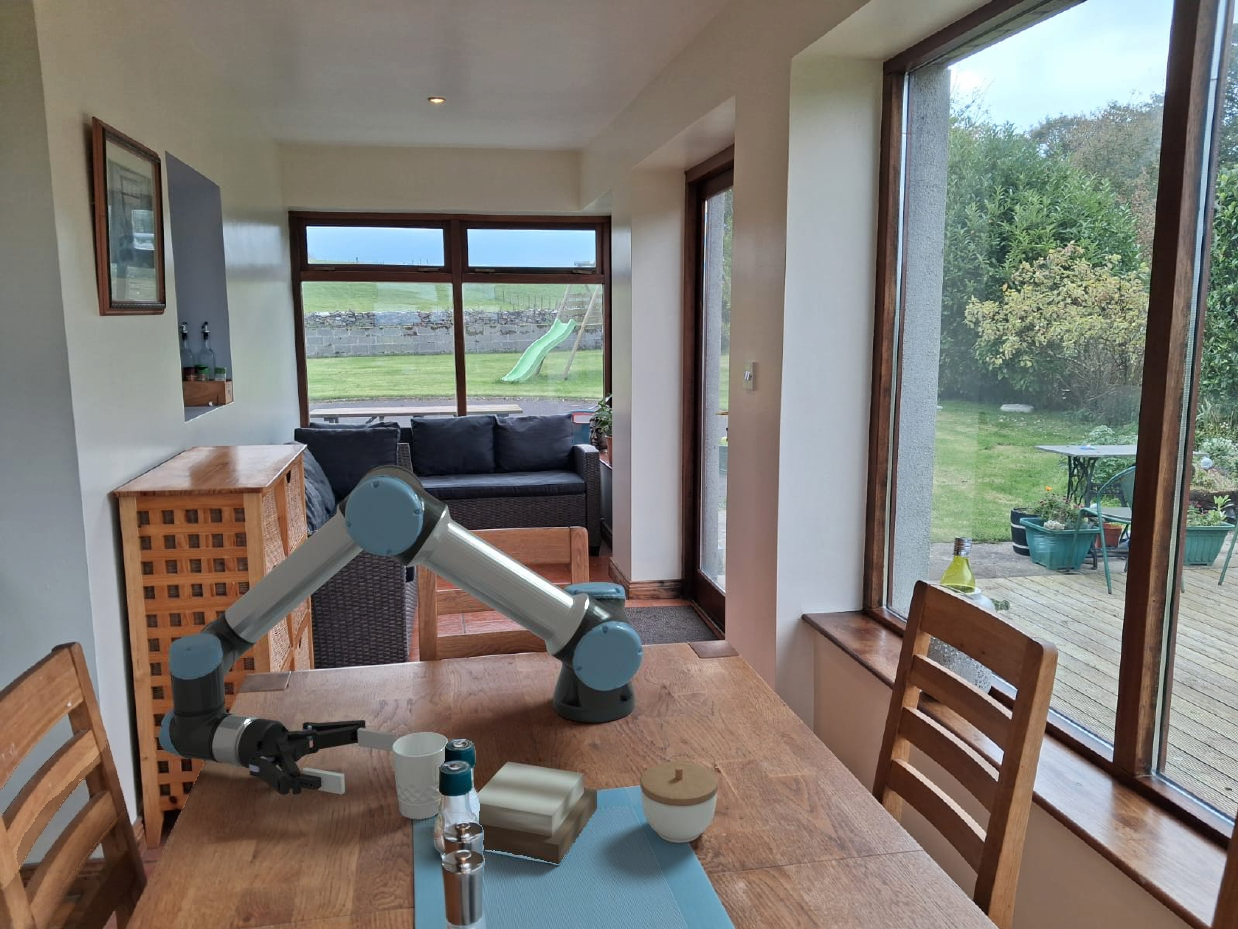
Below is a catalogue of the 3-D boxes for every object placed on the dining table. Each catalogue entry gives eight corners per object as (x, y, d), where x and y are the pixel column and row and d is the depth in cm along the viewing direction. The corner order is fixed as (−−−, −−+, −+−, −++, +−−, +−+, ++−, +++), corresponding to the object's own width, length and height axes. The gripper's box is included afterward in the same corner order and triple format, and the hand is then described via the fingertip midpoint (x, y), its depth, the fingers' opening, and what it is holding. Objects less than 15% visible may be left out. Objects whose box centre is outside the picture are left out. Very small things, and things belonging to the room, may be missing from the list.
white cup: (386, 820, 132) (383, 754, 130) (407, 792, 140) (405, 730, 138) (439, 824, 131) (436, 758, 129) (457, 796, 138) (455, 733, 137)
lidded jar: (694, 861, 121) (694, 795, 120) (625, 837, 127) (625, 774, 126) (730, 824, 130) (731, 762, 129) (664, 803, 136) (664, 743, 134)
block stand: (503, 792, 139) (502, 755, 138) (597, 808, 134) (596, 770, 134) (456, 846, 125) (454, 805, 124) (558, 866, 120) (558, 823, 119)
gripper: (304, 731, 155) (415, 749, 149) (194, 805, 132) (319, 829, 125) (301, 689, 154) (413, 705, 148) (190, 756, 131) (316, 778, 124)
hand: (370, 762), depth 137 cm, fingers open, 13 cm apart
